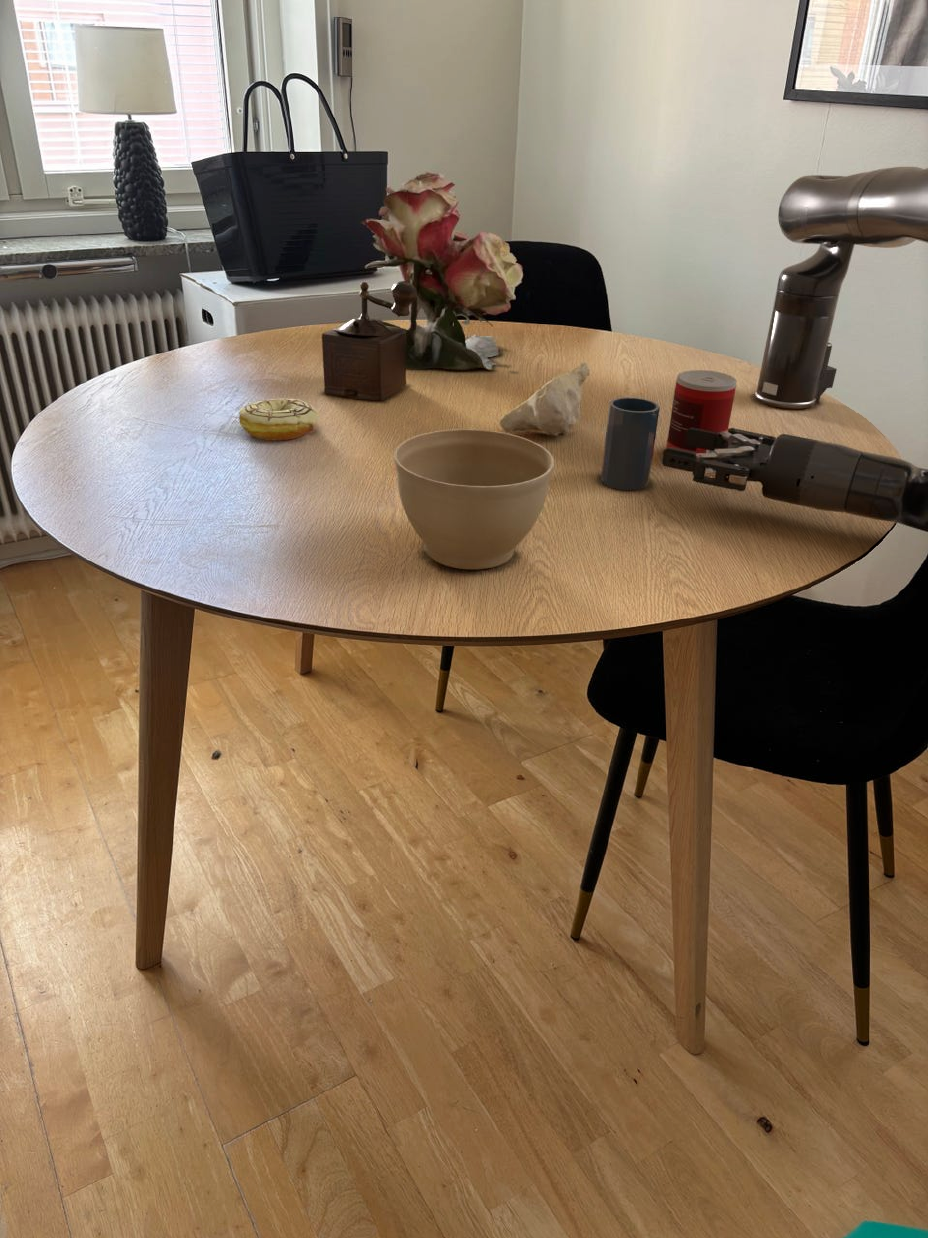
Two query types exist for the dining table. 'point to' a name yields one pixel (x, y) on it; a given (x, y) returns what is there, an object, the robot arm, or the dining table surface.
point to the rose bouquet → (443, 273)
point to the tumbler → (629, 443)
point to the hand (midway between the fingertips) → (675, 445)
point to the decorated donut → (278, 418)
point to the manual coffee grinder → (368, 351)
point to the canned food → (700, 405)
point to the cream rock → (550, 405)
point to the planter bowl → (472, 493)
